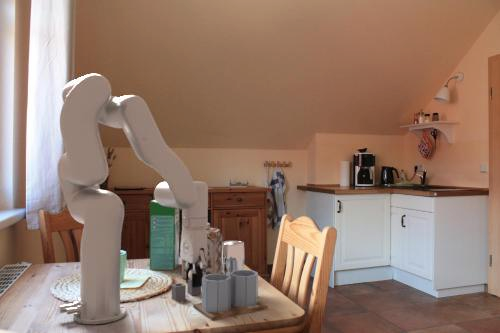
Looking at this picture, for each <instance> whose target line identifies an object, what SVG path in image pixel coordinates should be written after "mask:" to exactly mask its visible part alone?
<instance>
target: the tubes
mask: <svg viewBox="0 0 500 333" xmlns="http://www.w3.org/2000/svg"><path fill="white" fill-rule="evenodd" d="M258 286H259V273H258V272H257V271H255V270H251V269H243V270H236V271H232V272H231V273H230V276H229V275H227V274H223V273H221V274H208V275H205V276H203V277H202V286H201V303H202V309H203V310H204V311H206V312H213V313H219V312H224V311H228V310H229V309H230V308H231V304H232V305H234V306H238V307H249V306H254V305H256V304H257V302H258V301H259V297H258V296H259V292H258V291H259V289H258V288H259V287H258Z"/></svg>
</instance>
